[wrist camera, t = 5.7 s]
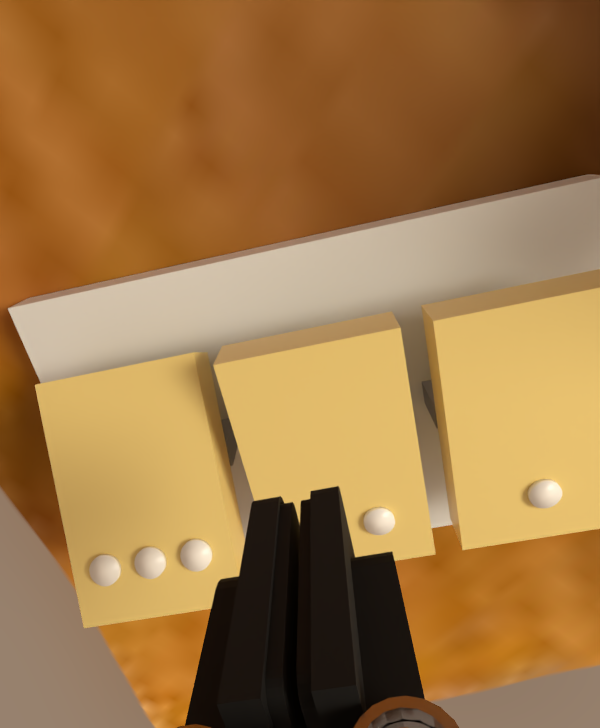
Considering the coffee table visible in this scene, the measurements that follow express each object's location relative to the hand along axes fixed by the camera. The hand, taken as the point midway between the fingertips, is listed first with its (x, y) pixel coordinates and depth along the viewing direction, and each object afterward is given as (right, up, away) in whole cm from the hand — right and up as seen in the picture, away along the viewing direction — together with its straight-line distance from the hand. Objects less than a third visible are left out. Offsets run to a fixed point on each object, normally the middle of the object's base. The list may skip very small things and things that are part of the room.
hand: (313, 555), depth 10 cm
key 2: (+1, 0, +9) cm, 9 cm away
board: (+1, +2, +13) cm, 14 cm away
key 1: (+8, +2, +8) cm, 11 cm away
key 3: (-6, -1, +9) cm, 11 cm away
